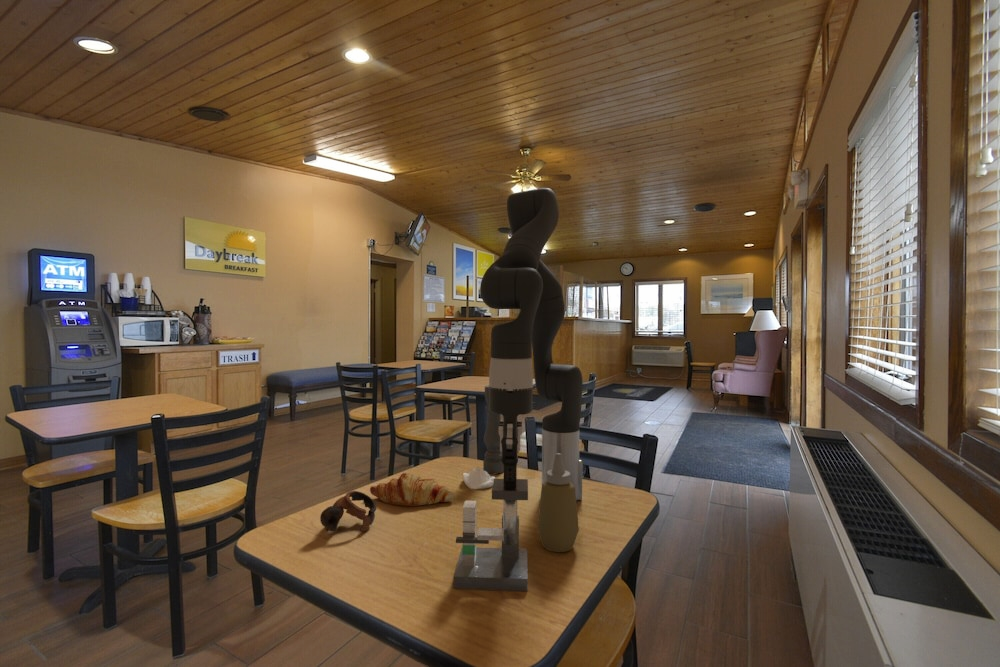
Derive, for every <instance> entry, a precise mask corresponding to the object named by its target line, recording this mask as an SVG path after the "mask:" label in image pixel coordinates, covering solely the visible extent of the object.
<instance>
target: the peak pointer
mask: <svg viewBox="0 0 1000 667" xmlns="http://www.w3.org/2000/svg"><path fill="white" fill-rule="evenodd" d="M463 543H475V544H476V545H477V544H478V545H479V544H482V545H485V544H487V545H489V543H490V540H477V536H476V537H463V536H456V538H455V544H463Z"/></svg>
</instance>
